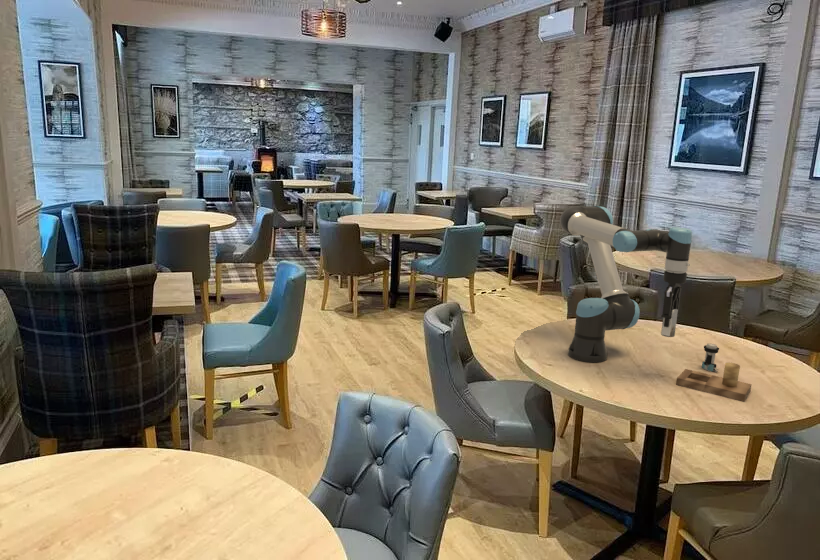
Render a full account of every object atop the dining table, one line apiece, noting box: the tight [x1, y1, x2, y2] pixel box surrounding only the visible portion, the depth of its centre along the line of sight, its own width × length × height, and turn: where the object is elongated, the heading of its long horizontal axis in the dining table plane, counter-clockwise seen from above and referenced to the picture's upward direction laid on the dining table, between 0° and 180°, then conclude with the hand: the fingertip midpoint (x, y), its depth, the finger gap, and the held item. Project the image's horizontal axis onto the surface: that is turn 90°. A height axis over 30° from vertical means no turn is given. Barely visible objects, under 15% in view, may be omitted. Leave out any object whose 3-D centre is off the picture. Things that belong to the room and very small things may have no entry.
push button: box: [701, 343, 720, 373], centre depth 231 cm, size 7×5×10 cm
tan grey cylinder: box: [660, 308, 679, 338], centre depth 219 cm, size 5×5×10 cm
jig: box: [675, 362, 752, 402], centre depth 213 cm, size 22×12×10 cm, turn 52°
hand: (667, 333), depth 220 cm, fingers closed on tan grey cylinder, 5 cm apart
